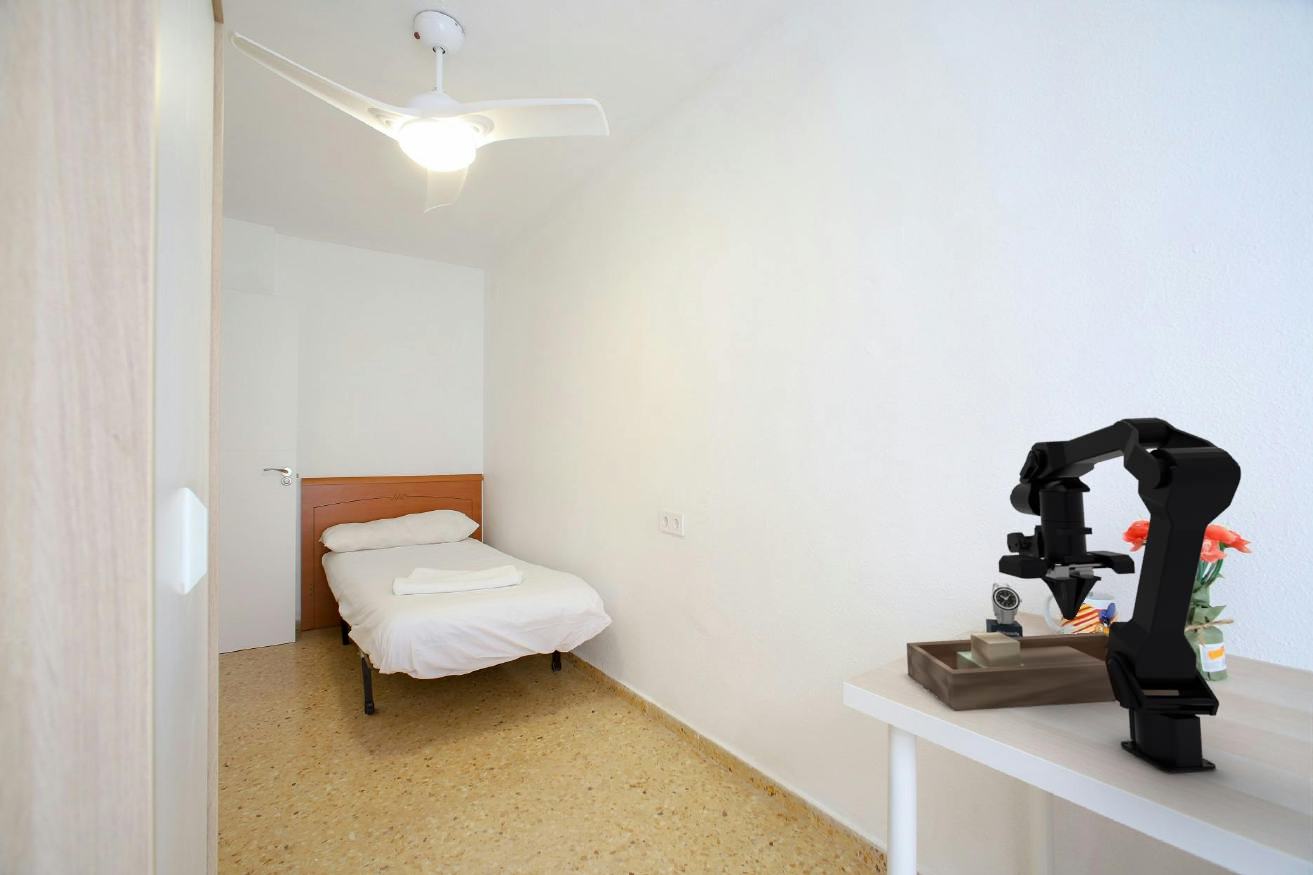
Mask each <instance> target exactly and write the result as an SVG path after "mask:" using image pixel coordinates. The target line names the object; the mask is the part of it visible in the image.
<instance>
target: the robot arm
mask: <svg viewBox="0 0 1313 875" xmlns="http://www.w3.org/2000/svg"><path fill="white" fill-rule="evenodd" d="M1151 449H1152V450H1151ZM1148 450H1151V451H1150V452H1149V451H1148ZM1120 457H1121V458H1122V457H1123V468H1124V469H1125V470H1126V471H1128V473H1129V474H1131V475H1132V477H1134V478H1135V479H1136V480H1137V495H1138V496H1139V498H1140V499H1141V501H1142V503H1143V505H1144V507H1145V508H1146V509H1147V511H1148V513H1149V515H1150V518H1149V522H1148V523H1149V524H1148V530H1147V534H1146V540H1145V546H1144V550H1143V557H1142V561H1141V562H1142V563H1141V567H1140V571H1139V572H1140V574H1139V578H1138V583H1137V587H1136V588H1137V589H1136V595H1135V600H1134V607H1133V610H1132V616H1131V618H1130V619H1129V620H1128V621H1112V622H1111V623H1110V625H1109V627H1108V634H1109V637H1108V641H1107V644H1106V645H1105V648H1106V649H1108V651H1107V655H1106V659H1105V664H1106V668H1107V671H1108V675H1109V679H1110V683H1111V686H1112V690H1113V693H1114V697H1115V699H1116V700H1117V702H1118V703H1119V707H1121V708H1123V709H1125V710H1128V721H1129V722H1128V723H1129V737H1130V739H1131V740H1126V741H1125V740H1124V741H1120V746H1121V747H1122V748H1124V749H1125V750H1127V751H1128V752H1130V753H1131V754H1134V755H1135V756H1137V757H1139V758H1141V759H1142V760H1144V761H1146V762H1147V763H1149V764H1151V765H1153V766H1155V767H1156V768H1157V769H1159V770H1161V771H1162V772H1165V773H1180V772H1181V773H1182V772H1183V773H1184V772H1196V771H1210V770H1211V771H1212V770H1217V769H1216V767H1217V766H1216V764H1215V763H1214V762H1212V761H1210V760H1208V759H1206V758H1204V757H1203V744H1202V742H1203V741H1202V740H1203V739H1202V729H1201V728H1202V727H1201V717H1200V716H1210V717H1215V716H1217V713H1218V710H1219V707H1220V700H1219V699H1218V698H1217V696H1216V695H1215V693H1214V691H1213V690H1212V689H1211V687H1210V685H1209V684H1208V682H1207V681H1206V680H1205V678H1204V676H1203V675H1202V673H1201V672H1200V670H1199V668H1197V661H1198V660H1197V659H1198V657H1197V656H1198V655H1197V652H1196V651H1195V649H1194V647H1193V646H1192V644H1191V642H1190V641H1189V639H1188V638H1187V635H1186V634H1185V633H1186V632H1185V631H1186V627H1187V626H1186V625H1187V621H1188V618H1189V616H1188V615H1189V612H1190V611H1189V610H1190V606H1191V603H1192V602H1191V601H1192V597H1193V592H1194V588H1195V584H1196V579H1197V578H1196V577H1197V574H1198V569H1199V565H1200V560H1201V556H1202V551H1203V547H1204V546H1203V545H1204V541H1205V535H1206V532H1207V531H1206V530H1207V528H1208V526H1209V525H1210V524H1211V523H1212V522H1213V521H1214V520H1215V519H1216V518H1218V517H1219V516H1220V515H1221V514H1223V512H1225V511H1226V510H1227V509H1228V508H1229V507H1230V506H1231V505H1232V502H1233V499H1234V497H1235V494H1236V493H1237V490H1238V488H1239V486H1240V483H1241V479H1242V469H1241V466H1240V465H1239V463H1238V461H1237V460H1236V459H1235V458H1234V457H1233V456H1232V455H1231V454H1230V453H1229V452H1228V451H1226V450H1225V449H1223V448H1222V447H1218V446H1217V445H1216V444H1214V443H1213V442H1211V441H1209V440H1208V439H1206V438H1202V437H1200V436H1197V435H1195V434H1193V433H1190V432H1187V431H1184V430H1181V429H1179V428H1176V427H1175V426H1174V425H1173V424H1171V423H1170V422H1168V420H1164V419H1163V418H1158V417H1155V416H1154V417H1135V418H1122V419H1120V420H1117V421H1115V422H1114V423H1113V424H1111V425H1108V426H1105V427H1102V428H1100V429H1097V430H1094V431H1091V432H1089V433H1085V434H1083V435H1080V436H1077V437H1074V438H1071V439H1069V440H1052V441H1037V442H1035V443H1034V444H1033V445H1032V446H1031V448H1030V450H1029V451H1028V453H1027V456H1026V458H1025V462H1024V463H1023V466H1022V467H1021V469H1020V470H1019V479H1018V480H1019V483H1017V484H1016V485H1015V486H1014V487H1013V489H1012V490H1011V493H1010V494H1009V501H1010V504H1011V506H1012V508H1013V509H1015V511H1016V512H1019V513H1020V514H1023V515H1029V516H1030V515H1031V516H1036V517H1040V524H1035V527H1034V529H1033V530H1034V531H1033V532H1034V533H1033V534H1032V535H1024V533H1023V532H1022V531H1017V532H1016V531H1015V532H1009V533H1008V534H1006V546H1007V550H1008V551H1009V552H1010V553H1012V554H1007V555H1006V554H1004V555H1002V556H1001V557H1000V559H999V560H998V573H1000V574H1004V575H1008V576H1012V577H1015V578H1019V579H1023V580H1029V579H1030V580H1034V579H1035V580H1037V579H1040V580H1042V581H1043V582H1044V583H1045V584H1046V586H1047V587H1048V588H1049V590H1050V593H1051V594H1052V596H1053V598H1054V600H1055V602H1056V604H1057V607H1058V609H1059V611H1060V612H1061V615H1063V617H1064V619H1067V620H1074V618H1075V617H1076V615H1077V613H1078V611H1079V609H1080V607H1081V606H1082V604H1083V602H1084V600H1085V598H1086V597H1087V595H1088V594H1089V592H1090V591H1091V590H1093V587H1094V586H1095V584H1096V583H1097V582H1100V581H1102V577H1101V576H1099V575H1095V573H1094V570H1096V569H1098V570H1099V569H1111V570H1112V571H1113V572H1114V573H1115V574H1118V575H1129V574H1130V575H1131V574H1133V575H1134V574H1136V567H1135V560H1134V559H1133V558H1132V557H1131V555H1129V554H1126V553H1121V552H1115V551H1111V550H1110V551H1109V550H1094V551H1093V550H1091V551H1090V550H1088V551H1087V548H1088V547H1087V535H1093V527H1090V526H1089V527H1088V526H1086V522H1085V520H1086V519H1085V506H1084V493H1090V492H1091V487H1090V486H1089V485H1088V484H1086V483H1085V482H1083V481H1082V480H1081V479H1080V478H1081V477H1083V476H1084V475H1087V474H1088V473H1090V472H1092V471H1093V470H1094V469H1095V465H1096V464H1099V463H1101V462H1102V463H1103V462H1106V461H1110V460H1113V459H1116V458H1120ZM1063 617H1062V618H1063ZM1142 690H1147V691H1178V693H1179V695H1159V694H1144V693H1143V691H1142Z"/></svg>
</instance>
